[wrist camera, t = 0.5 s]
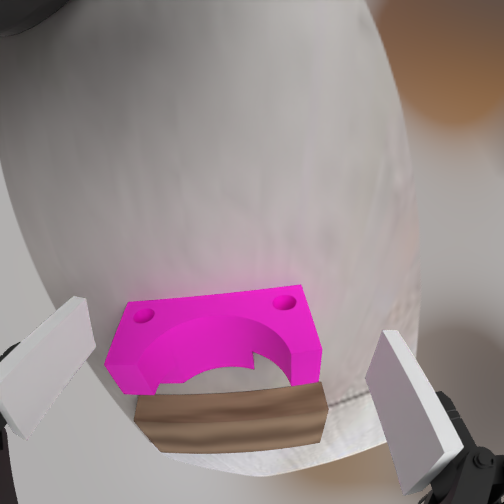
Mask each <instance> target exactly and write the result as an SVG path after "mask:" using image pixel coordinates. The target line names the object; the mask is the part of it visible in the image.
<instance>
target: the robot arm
mask: <svg viewBox="0 0 504 504" xmlns="http://www.w3.org/2000/svg"><path fill="white" fill-rule="evenodd" d="M68 1H69V0H0V36H10V35H14V34H17V33H20V32H23V31H25V30H27V29H29V28H31V27H33V26H35V25H36V24H38V23H40V22H41V21H43V20H44V19H46V18H47V17H49V16H50V15H51V14H53V13H54V12H55V11H57V10H58V9H59V8H60V7H62V6H63V5H64V4H65V3H66V2H68ZM95 348H96V344H95V340H94V336H93V331H92V326H91V322H90V317H89V311H88V306H87V301H86V298H81V297H77V296H73V297H72V298H70V299H69V300H68V301H67V302H66V303H65V304H63V305H62V306H61V307H60V308H59V309H57V310H56V311H55V312H54V313H53V314H52V315H51V316H50V317H48V318H47V319H46V320H45V321H44V322H43V323H42V324H40V325H39V326H38V327H37V328H36V329H35V330H34V331H33V332H32V333H30V334H29V335H28V336H27V337H26V338H25V339H24V340H23V341H22V342H19V343H17V344H15V345H13V346H11V347H10V348H8V349H7V350H6V351H5V352H4V353H3V355H1V356H0V504H18V501H17V497H16V492H15V487H14V482H13V477H12V471H11V465H10V457H9V449H8V440H7V432H6V429H5V428H4V427H5V425H6V424H8V425H9V427H10V428H11V430H12V431H13V433H15V434H16V435H18V436H20V437H22V438H23V439H25V440H28V438H29V437H30V436H31V434H32V433H33V431H34V430H35V428H36V427H37V425H38V424H39V422H40V421H41V420H42V418H43V417H44V415H45V414H46V413H47V411H48V410H49V408H50V407H51V406H52V404H53V403H54V401H55V400H56V399H57V397H58V396H59V395H60V393H61V392H62V390H63V389H64V388H65V387H66V385H67V384H68V382H69V381H70V380H71V379H72V377H73V376H74V375H75V373H76V372H77V371H78V369H79V368H80V366H81V365H82V364H83V363H84V362H85V360H86V359H87V358H88V357H89V355H90V354H91V353H92V352H93V350H94V349H95ZM365 379H366V382H367V385H368V387H369V390H370V393H371V396H372V398H373V401H374V404H375V407H376V410H377V413H378V416H379V419H380V422H381V425H382V428H383V431H384V434H385V437H386V440H387V443H388V446H389V449H390V452H391V456H392V459H393V462H394V465H395V469H396V472H397V475H398V479H399V482H400V486H401V490H402V493H403V495H404V496H405V495H409V494H413V493H416V492H420V491H422V490H423V489H424V488H425V487H426V486H427V485H429V484H431V487H432V490H431V491H430V492H429V493H428V494H426V495H425V496H424V497H423V498H422V499H421V500H420V501H419V503H418V504H421V503H422V502H423V501H425V502H424V504H504V502H503V503H502V502H501V497H502V496H503V495H504V455H496V456H495V455H494V454H493V453H492V452H491V451H490V450H489V449H487V448H485V447H477V446H476V444H475V442H474V440H473V439H472V437H471V435H470V433H469V431H468V429H467V427H466V425H465V424H464V422H463V420H462V419H461V418H460V415H459V413H458V411H456V408H455V406H454V404H453V402H452V401H451V399H450V398H449V397H448V396H446V395H445V394H444V393H443V392H442V391H439V392H435V391H434V390H433V388H432V386H431V384H430V383H429V381H428V379H427V378H426V376H425V375H424V372H423V371H422V369H421V367H420V366H419V364H418V363H417V361H416V359H415V357H414V356H413V354H412V353H411V351H410V349H409V348H408V346H407V345H406V343H405V341H404V340H403V338H402V337H401V335H400V333H399V332H398V330H382V333H381V336H380V339H379V342H378V344H377V347H376V350H375V353H374V356H373V358H372V361H371V364H370V366H369V369H368V372H367V374H366V377H365Z"/></svg>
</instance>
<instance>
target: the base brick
mask: <svg viewBox="0 0 504 504" xmlns="http://www.w3.org/2000/svg"><path fill="white" fill-rule="evenodd" d="M328 410H329V409H328V405H327V402H326V398H325V394H324V390H323V387H322V383H321V382H317V383H311V384H305V385H298V386H291V387H284V388H276V389H267V390H257V391H247V392H234V393H219V394H195V395H139V397H138V402H137V406H136V411H135V416H134V422H135V423H136V424H137V426H138V427H139V428H140V429H141V430H142V431H143V433H144V434H145V435H146V436H147V437H148V438H149V440H150V441H151V442H152V443H153V444H154V445H155V446H156V447H157V448H158V450H159V451H160V452H165V453H191V454H213V453H239V452H254V451H265V450H274V449H282V448H290V447H297V446H303V445H309V444H315V443H320V440H321V436H322V433H323V429H324V425H325V422H326V418H327V414H328Z"/></svg>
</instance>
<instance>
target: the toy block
mask: <svg viewBox="0 0 504 504" xmlns="http://www.w3.org/2000/svg"><path fill="white" fill-rule="evenodd" d="M253 352H255V353H258V354H260V355H262V356H264V357H266V358H268V359H270V360H271V361H273V362H274V363H275V364H276V365H278V366H279V367H280V369H281V370H282V371H283V372H284V373H285V375H286V376H287V378H288V380H289V382H290V384H291V386H297V385H303V384H309V383H315V382H319V375H320V366H321V357H322V347H321V344H320V340H319V337H318V334H317V331H316V328H315V325H314V322H313V319H312V316H311V313H310V310H309V306H308V303H307V300H306V297H305V294H304V291H303V288H302V286H301V285H293V286H285V287H277V288H269V289H260V290H252V291H243V292H234V293H224V294H214V295H204V296H194V297H183V298H172V299H160V300H148V301H134V302H128V304H127V306H126V308H125V311H124V313H123V316H122V318H121V321H120V323H119V326H118V328H117V331H116V333H115V336H114V339H113V341H112V344H111V347H110V349H109V352H108V355H107V358H106V360H105V363H104V365H105V367H106V368H107V370H108V371H109V373H110V374H111V376H112V377H113V379H114V380H115V382H116V383H117V385H118V386H119V388H120V389H121V391H122V392H123V393H124V394H132V395H155V393H156V390H157V388H158V386H159V384H160V383H184V382H186V381H187V380H188V379H190V378H192V377H193V376H195V375H197V374H199V373H202V372H204V371H207V370H210V369H215V368H220V367H245V368H250V369H254V359H253Z"/></svg>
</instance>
